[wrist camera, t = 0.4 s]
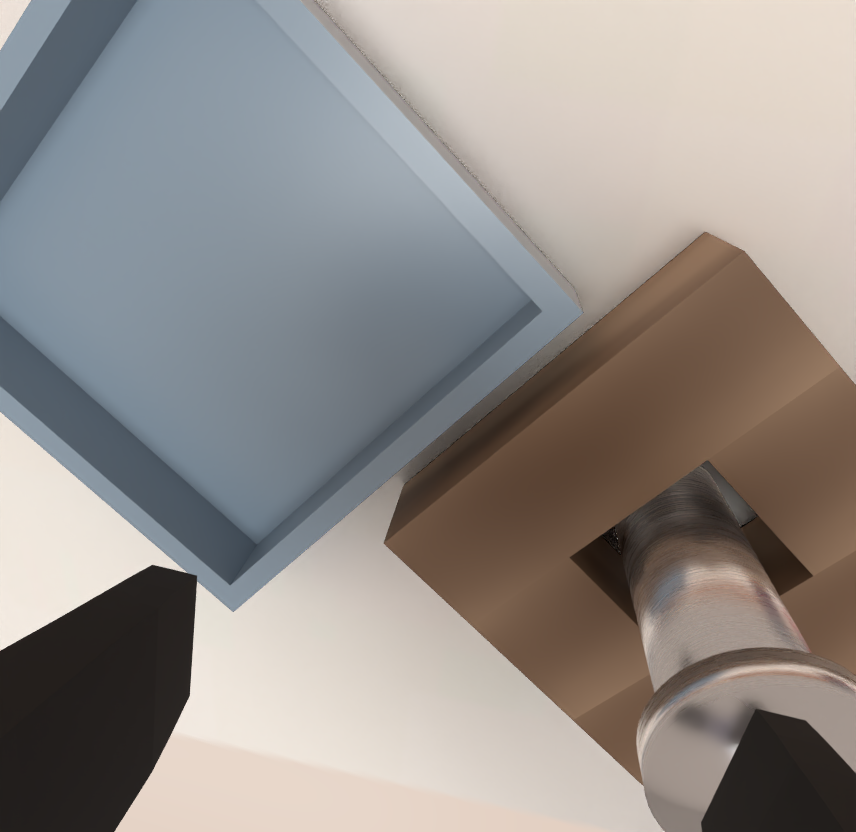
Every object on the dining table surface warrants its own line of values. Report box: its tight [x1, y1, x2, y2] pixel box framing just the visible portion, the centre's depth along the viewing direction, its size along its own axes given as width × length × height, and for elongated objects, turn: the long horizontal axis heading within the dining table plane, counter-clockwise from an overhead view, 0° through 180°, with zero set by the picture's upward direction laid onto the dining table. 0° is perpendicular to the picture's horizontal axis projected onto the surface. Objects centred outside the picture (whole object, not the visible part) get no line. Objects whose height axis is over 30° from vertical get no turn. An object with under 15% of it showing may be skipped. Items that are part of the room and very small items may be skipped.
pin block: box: [384, 232, 856, 786], centre depth 17 cm, size 10×10×3 cm
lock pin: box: [615, 465, 856, 832], centre depth 14 cm, size 4×4×9 cm
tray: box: [0, 0, 583, 612], centre depth 16 cm, size 12×12×2 cm
